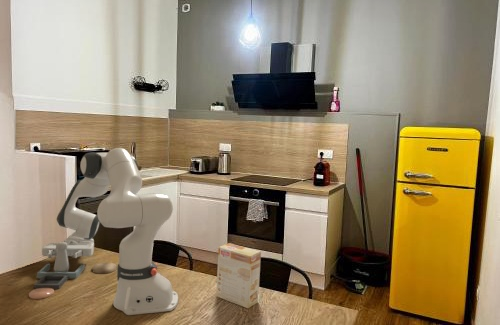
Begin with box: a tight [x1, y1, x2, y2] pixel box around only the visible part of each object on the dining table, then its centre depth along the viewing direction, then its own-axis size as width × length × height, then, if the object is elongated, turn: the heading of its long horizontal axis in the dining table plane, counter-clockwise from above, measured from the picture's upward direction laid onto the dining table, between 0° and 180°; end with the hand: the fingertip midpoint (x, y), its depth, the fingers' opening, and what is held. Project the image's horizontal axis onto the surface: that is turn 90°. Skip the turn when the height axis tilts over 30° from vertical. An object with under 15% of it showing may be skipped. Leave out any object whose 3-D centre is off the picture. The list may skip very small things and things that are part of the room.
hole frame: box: [33, 275, 69, 290], centre depth 143 cm, size 9×9×2 cm
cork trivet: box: [92, 262, 118, 275], centre depth 159 cm, size 10×10×1 cm
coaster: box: [28, 288, 55, 300], centre depth 134 cm, size 8×8×1 cm
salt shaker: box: [53, 241, 70, 272], centre depth 152 cm, size 6×6×13 cm
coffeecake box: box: [215, 242, 262, 309], centre depth 138 cm, size 15×7×20 cm, turn 56°
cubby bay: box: [36, 263, 85, 279], centre depth 152 cm, size 10×15×2 cm, turn 97°
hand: (61, 256), depth 152 cm, fingers open, 8 cm apart
